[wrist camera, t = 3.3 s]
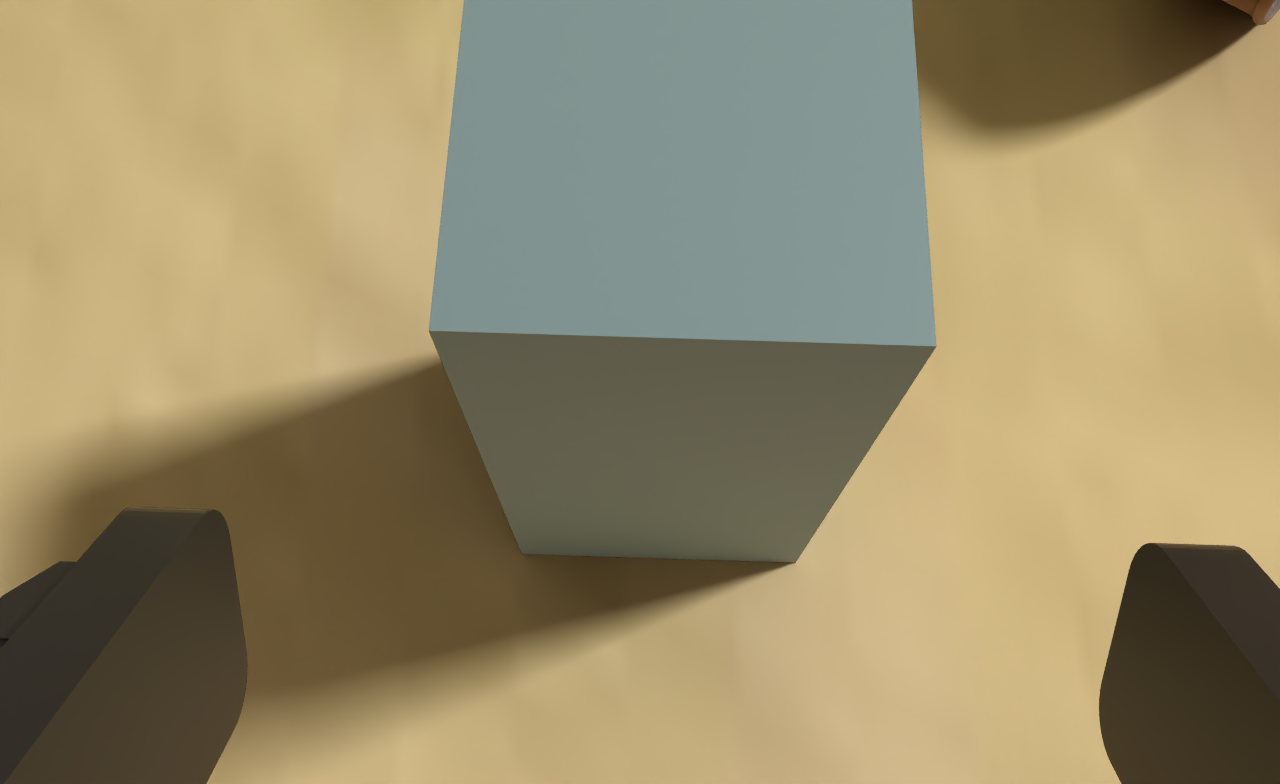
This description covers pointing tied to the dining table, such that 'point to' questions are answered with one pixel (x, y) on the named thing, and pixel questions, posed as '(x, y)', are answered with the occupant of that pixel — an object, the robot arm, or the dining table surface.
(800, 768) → the dining table surface
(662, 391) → the carton
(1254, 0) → the tin
